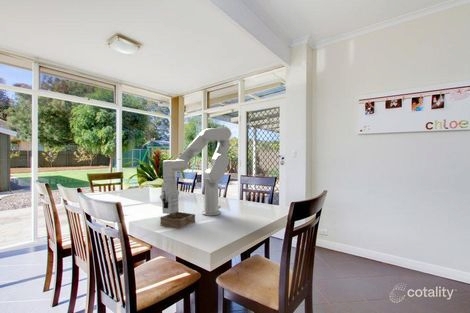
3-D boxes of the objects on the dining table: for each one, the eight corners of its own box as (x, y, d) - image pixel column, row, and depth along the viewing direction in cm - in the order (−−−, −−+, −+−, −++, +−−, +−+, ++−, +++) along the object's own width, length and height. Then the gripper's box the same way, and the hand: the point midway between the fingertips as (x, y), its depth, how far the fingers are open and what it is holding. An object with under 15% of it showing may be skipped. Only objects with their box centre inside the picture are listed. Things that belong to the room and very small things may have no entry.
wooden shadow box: (177, 218, 140) (177, 211, 140) (195, 221, 133) (195, 214, 133) (160, 224, 127) (160, 217, 127) (179, 228, 121) (179, 220, 121)
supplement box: (162, 213, 140) (161, 193, 140) (170, 210, 147) (169, 191, 147) (170, 214, 137) (170, 194, 137) (179, 211, 143) (178, 192, 143)
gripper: (174, 177, 151) (175, 203, 151) (154, 180, 136) (155, 209, 136) (183, 178, 148) (184, 204, 148) (163, 181, 132) (164, 210, 132)
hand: (170, 206), depth 142 cm, fingers closed on supplement box, 7 cm apart
